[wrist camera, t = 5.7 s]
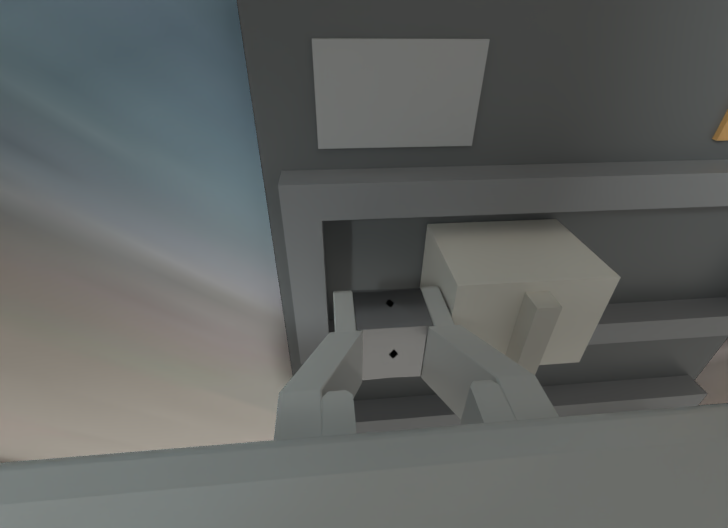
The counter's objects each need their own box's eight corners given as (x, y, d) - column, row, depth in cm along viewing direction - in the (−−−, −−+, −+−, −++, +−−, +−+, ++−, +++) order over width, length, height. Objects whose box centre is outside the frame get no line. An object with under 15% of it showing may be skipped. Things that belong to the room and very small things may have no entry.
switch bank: (245, -6, 9) (225, -10, 7) (923, 3, 10) (1052, 2, 8) (314, 493, 22) (313, 536, 20) (600, 465, 24) (623, 503, 22)
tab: (427, 223, 11) (465, 302, 8) (556, 219, 11) (637, 293, 8) (418, 301, 13) (447, 390, 10) (530, 295, 13) (591, 379, 10)
